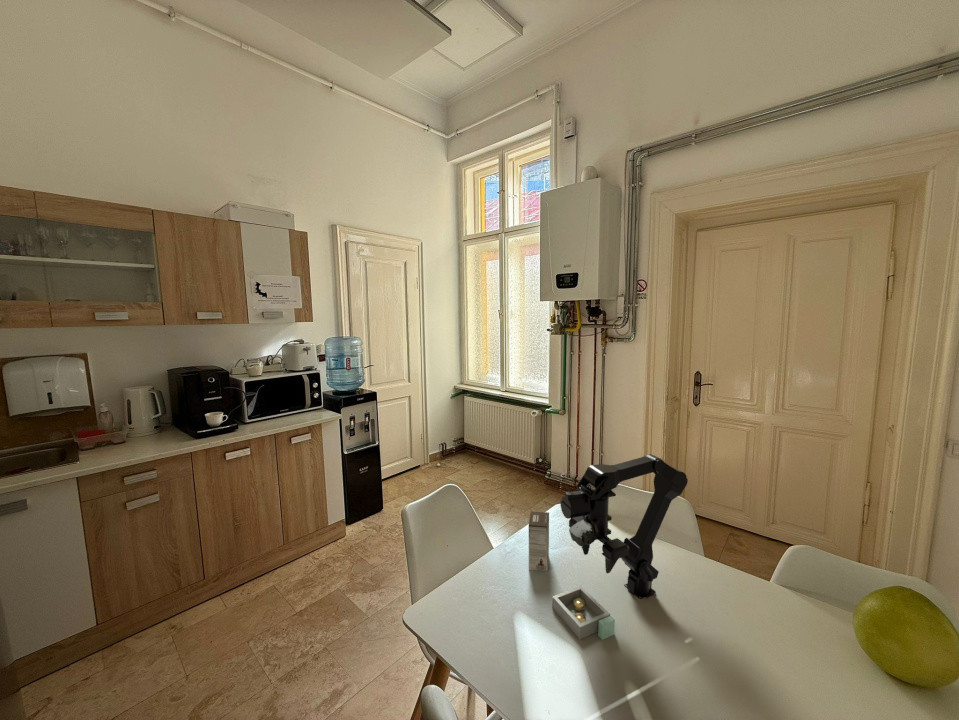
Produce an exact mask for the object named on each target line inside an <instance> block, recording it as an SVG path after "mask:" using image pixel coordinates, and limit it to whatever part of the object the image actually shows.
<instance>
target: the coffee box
mask: <svg viewBox="0 0 959 720" xmlns="http://www.w3.org/2000/svg"><path fill="white" fill-rule="evenodd" d="M549 552H550V512H547V511H530V515H529V520H528V571H533V570H534V571H545V572H548V570H549V561H550V560H549V559H550V557H549V556H550V553H549Z"/></svg>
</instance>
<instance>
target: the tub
mask: <svg viewBox="0 0 959 720" xmlns="http://www.w3.org/2000/svg"><path fill="white" fill-rule="evenodd" d="M551 597H552V601H551V603H552V604H551V607H552V609H553V610H554V612H555V613H556V614H557V615H558V616H559V617H560V619H561V620H562V621H563V622H564V623H565V624H566V625H567V627H568V628H569V629H570V630H571V631H572V633H574V635H575V636H576V637H577V639H579V640H582V639H584V638H587V637H588V636H591V635H593V634H596V633H599V621H600V620H602V619H604V618H607V617H609V616H611V613H610V612H609V611H608V610H607V609H606V608H605V607H604V606H603V605H602V604H601V603H599V602H598V601H597V600H596V598H594V597H593V596H592V594H590V593H589V592H588V591H587V590H586V589H585V588H584V587H583V586H582V585H579V586H577V587H574V588H572V589H569V590H566V591H563V592H561V593H557V594H555V595H553V596H551ZM575 598H580V599H582V600H583V601H584V611H583V612H581V613H582V614H584V615H585V617H586V621H584V622H582V623H580V622H579V621H578V620H577V619H576V617H575V616H574V615H575V614H576V613H579V612H576V611H575V610H574V609H573V601H574V599H575Z"/></svg>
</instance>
